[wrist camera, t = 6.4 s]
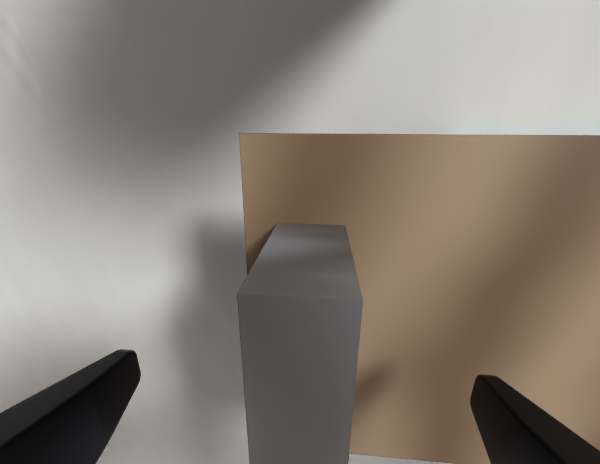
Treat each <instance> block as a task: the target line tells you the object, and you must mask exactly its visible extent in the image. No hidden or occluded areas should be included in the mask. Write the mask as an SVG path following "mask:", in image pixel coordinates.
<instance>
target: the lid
mask: <svg viewBox="0 0 600 464" xmlns="http://www.w3.org/2000/svg"><path fill="white" fill-rule="evenodd" d="M239 139H240V156H241V173H242V190H243V207H244V224H245V241H246V258H247V277H246V279H245V281H244V282H243V284H242V286H241V288H240V289H239V291H238V293H237V299H238V313H239V326H240V340H241V353H242V367H243V380H244V394H245V408H246V421H247V435H248V448H249V462H250V464H348V460H349V454H360V455H370V456H381V457H391V458H402V459H412V460H423V461H433V462H444V463H454V464H491V463H490V460H489V457H488V455H487V452H486V449H485V446H484V443H483V441H482V438H481V435H480V432H479V429H478V427H477V424H476V421H475V418H474V415H473V413H472V410H471V406H470V397H471V393H472V390H473V386H474V382H475V379H476V377H477V376H478V375H480V374H482V375H494V376H497V377H499V378H500V379H502V380H503V381H504V382H506V383H507V384H508V385H510V386H511V387H513V388H514V389H515V390H517V391H518V392H519V393H521V394H522V395H524V396H525V397H526V398H528V399H529V400H531V401H532V402H533V403H535V404H536V405H537V406H539V407H540V408H542V409H543V410H544V411H546V412H547V413H548V414H550V415H551V416H553V417H554V418H555V419H557V420H558V421H559V422H561V423H562V424H564V425H565V426H566V427H568V428H569V429H570V430H572V431H573V432H575V433H576V434H577V435H579V436H580V437H581V438H583V439H584V440H586V441H587V442H588V443H590V444H591V445H593V446H594V447H595V448H597V449H598V450H599V451H600V136H595V135H437V134H279V133H239Z"/></svg>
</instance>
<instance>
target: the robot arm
mask: <svg viewBox="0 0 600 464" xmlns="http://www.w3.org/2000/svg"><path fill="white" fill-rule="evenodd" d="M140 377H141V372H140V368H139V363H138V359H137V354H136V352H135V351H133V350H123V349H121V350H117V351H115V352H113V353H111V354H109V355H108V356H106V357H104V358H102V359H100V360H98V361H96V362H94V363H93V364H91V365H89V366H87V367H85V368H83V369H81V370H80V371H78V372H76V373H74V374H72V375H70V376H68V377H67V378H65V379H63V380H61V381H59V382H57V383H55V384H53V385H52V386H50V387H48V388H46V389H44V390H42V391H40V392H39V393H37V394H35V395H33V396H31V397H29V398H27V399H25V400H24V401H22V402H20V403H18V404H16V405H14V406H12V407H11V408H9V409H7V410H5V411H3V412H1V413H0V464H96V462H97V460H98V459H99V457H100V456H101V454H102V452H103V451H104V449H105V447H106V445H107V444H108V442H109V440H110V438H111V436H112V435H113V433H114V431H115V429H116V427H117V425H118V423H119V421H120V419H121V417H122V415H123V413H124V411H125V409H126V407H127V405H128V403H129V401H130V399H131V397H132V395H133V393H134V391H135V390H136V388H137V386H138V384H139V381H140ZM470 406H471V410H472V413H473V415H474V418H475V421H476V424H477V427H478V429H479V432H480V435H481V438H482V441H483V443H484V446H485V449H486V452H487V455H488V457H489V460H490V463H491V464H600V451H599V450H598V449H597V448H595V447H594V446H593V445H591V444H590V443H588V442H587V441H586V440H584V439H583V438H581V437H580V436H579V435H577V434H576V433H575V432H573V431H572V430H570V429H569V428H568V427H566V426H565V425H564V424H562V423H561V422H559V421H558V420H557V419H555V418H554V417H553V416H551V415H550V414H548V413H547V412H546V411H544V410H543V409H542V408H540V407H539V406H537V405H536V404H535V403H533V402H532V401H531V400H529V399H528V398H526V397H525V396H524V395H522V394H521V393H519V392H518V391H517V390H515V389H514V388H513V387H511V386H510V385H508V384H507V383H506V382H504V381H503V380H502V379H500V378H499V377H497V376H494V375H482V374H480V375H478V376H477V377H476V379H475V382H474V386H473V390H472V393H471V397H470Z"/></svg>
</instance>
